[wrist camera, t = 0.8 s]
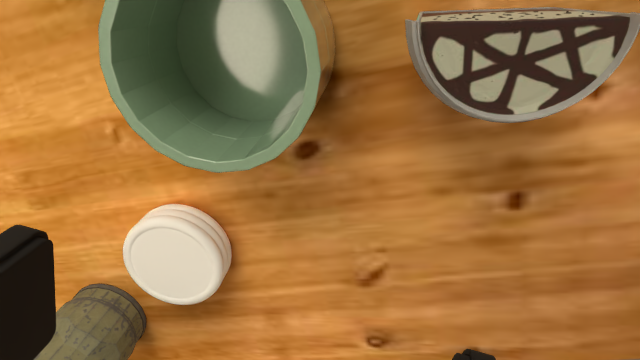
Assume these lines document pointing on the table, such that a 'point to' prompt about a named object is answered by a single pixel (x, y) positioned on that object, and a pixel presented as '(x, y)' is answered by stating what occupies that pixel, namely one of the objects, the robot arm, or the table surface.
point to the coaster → (177, 254)
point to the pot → (217, 75)
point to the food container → (517, 57)
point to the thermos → (96, 326)
